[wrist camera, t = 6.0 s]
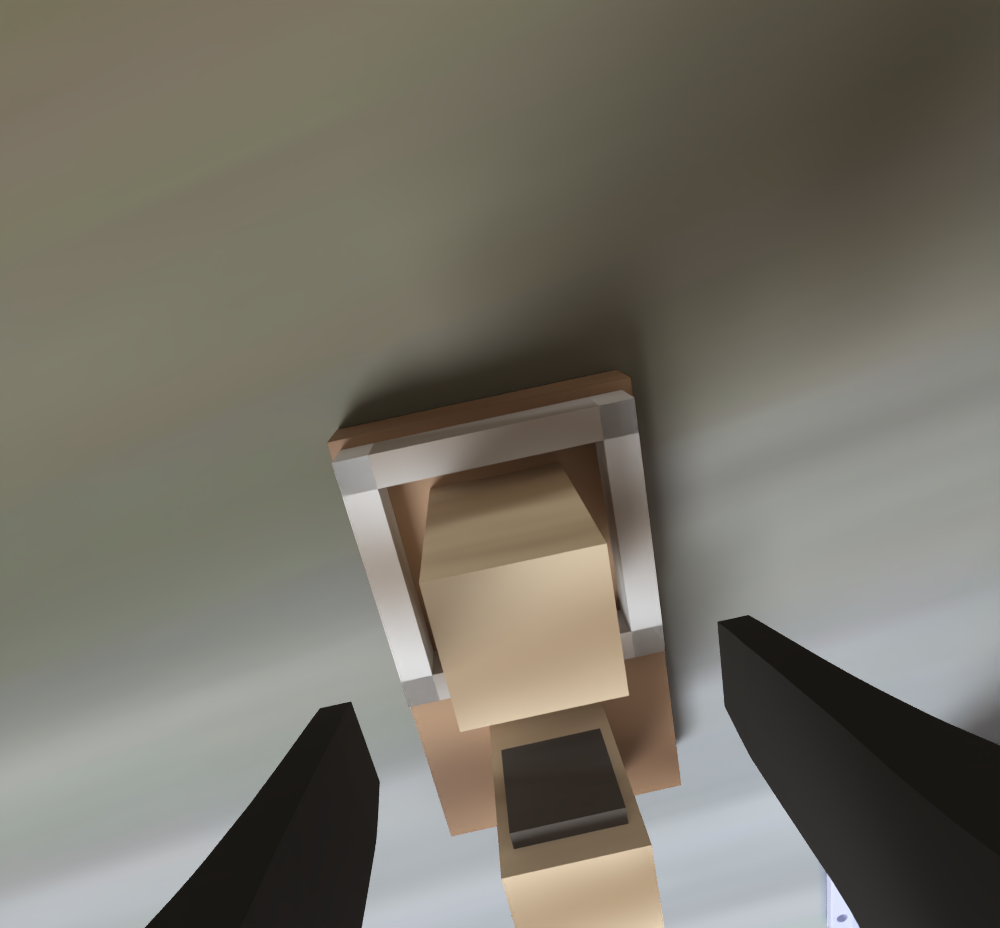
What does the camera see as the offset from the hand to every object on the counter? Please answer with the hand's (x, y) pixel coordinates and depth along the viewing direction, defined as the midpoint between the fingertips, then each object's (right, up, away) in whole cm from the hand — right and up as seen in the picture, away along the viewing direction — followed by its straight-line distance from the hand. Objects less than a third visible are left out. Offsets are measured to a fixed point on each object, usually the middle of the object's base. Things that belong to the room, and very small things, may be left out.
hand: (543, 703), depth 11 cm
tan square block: (-1, +2, +7) cm, 7 cm away
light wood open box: (0, -1, +9) cm, 9 cm away
